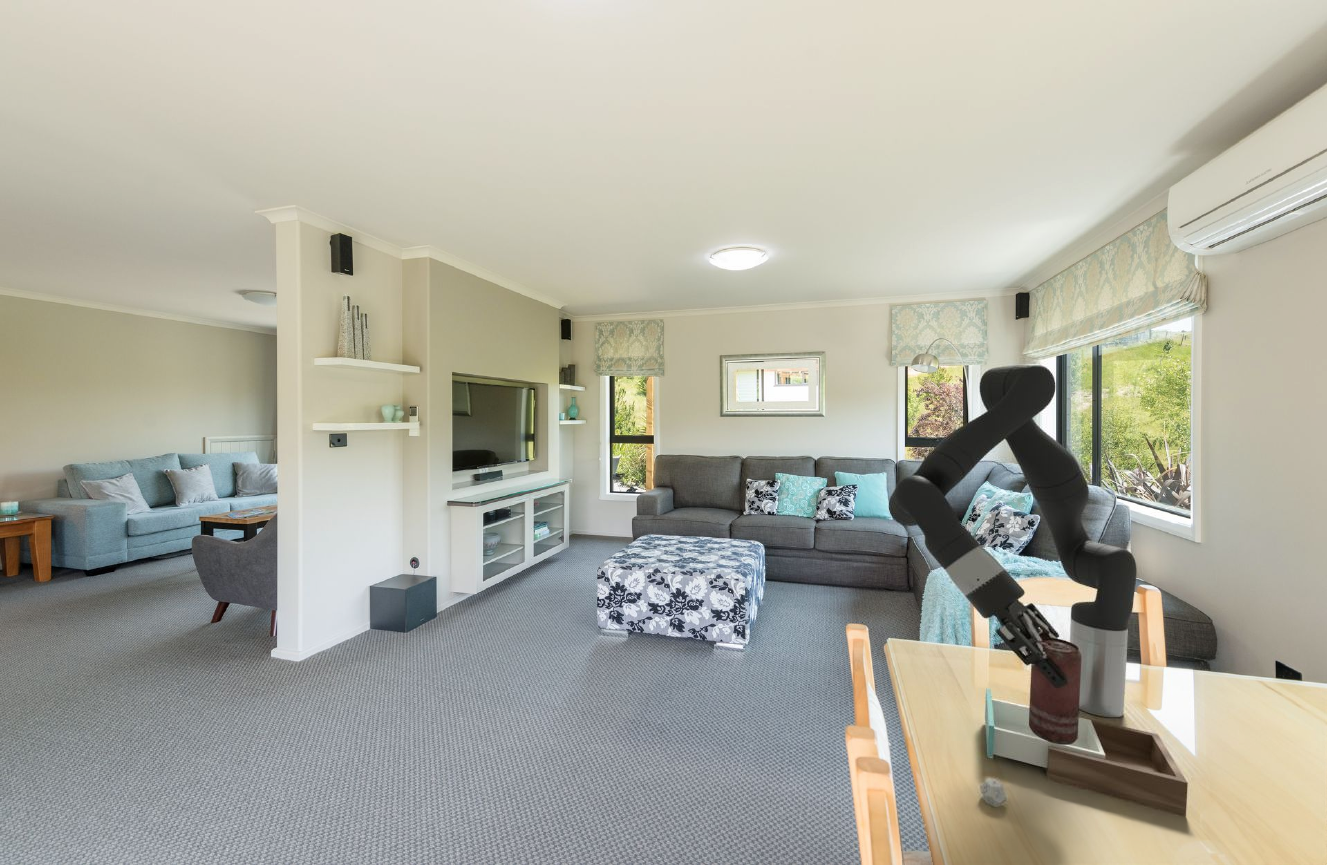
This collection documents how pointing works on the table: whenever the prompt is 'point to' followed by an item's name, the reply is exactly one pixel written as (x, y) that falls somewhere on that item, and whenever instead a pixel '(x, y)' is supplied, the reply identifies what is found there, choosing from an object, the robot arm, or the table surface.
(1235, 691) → the table surface
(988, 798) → the game die
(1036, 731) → the can
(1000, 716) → the tray
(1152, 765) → the tray stand
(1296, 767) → the table surface
